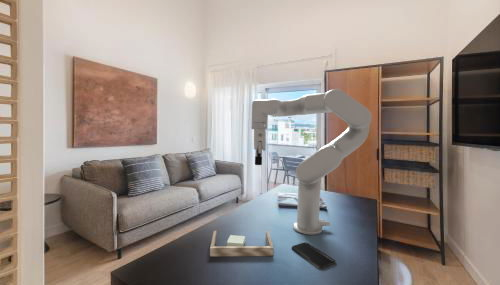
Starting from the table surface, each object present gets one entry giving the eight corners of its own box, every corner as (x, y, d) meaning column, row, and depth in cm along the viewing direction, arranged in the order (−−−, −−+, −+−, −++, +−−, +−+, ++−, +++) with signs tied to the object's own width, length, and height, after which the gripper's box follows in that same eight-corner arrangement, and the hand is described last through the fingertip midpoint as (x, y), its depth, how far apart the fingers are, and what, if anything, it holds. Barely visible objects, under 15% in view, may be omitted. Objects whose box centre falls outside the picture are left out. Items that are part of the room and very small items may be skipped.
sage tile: (245, 242, 92) (245, 236, 92) (242, 250, 86) (242, 243, 86) (230, 241, 93) (230, 234, 92) (226, 248, 87) (226, 242, 87)
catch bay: (268, 237, 95) (268, 230, 95) (273, 255, 82) (273, 247, 82) (213, 237, 94) (213, 230, 94) (210, 256, 81) (210, 247, 80)
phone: (306, 242, 91) (337, 261, 78) (306, 244, 91) (337, 264, 78) (290, 246, 87) (320, 268, 74) (290, 249, 87) (319, 271, 74)
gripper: (269, 126, 103) (268, 167, 105) (265, 126, 118) (264, 162, 120) (252, 126, 103) (251, 167, 104) (250, 126, 118) (249, 162, 119)
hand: (258, 164), depth 112 cm, fingers closed
